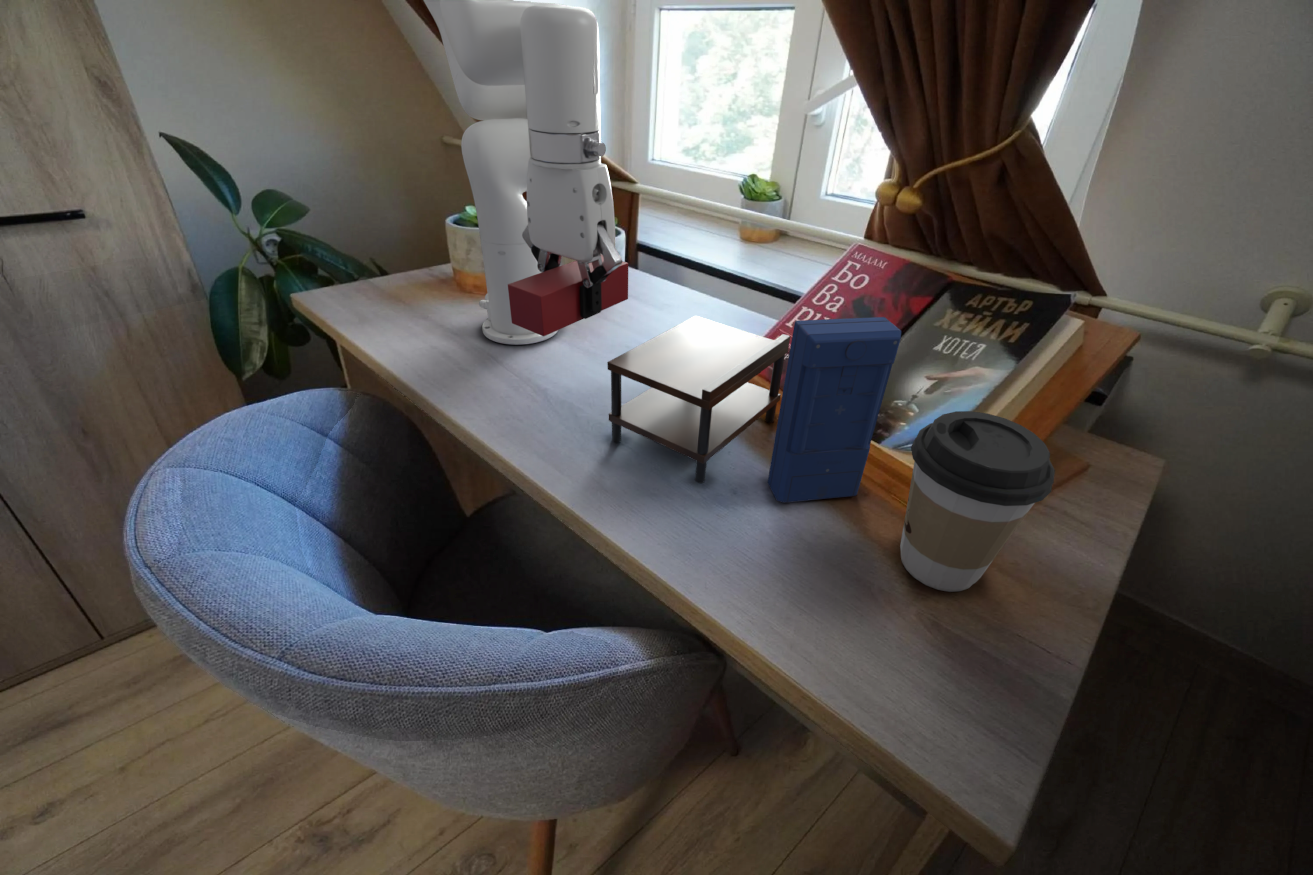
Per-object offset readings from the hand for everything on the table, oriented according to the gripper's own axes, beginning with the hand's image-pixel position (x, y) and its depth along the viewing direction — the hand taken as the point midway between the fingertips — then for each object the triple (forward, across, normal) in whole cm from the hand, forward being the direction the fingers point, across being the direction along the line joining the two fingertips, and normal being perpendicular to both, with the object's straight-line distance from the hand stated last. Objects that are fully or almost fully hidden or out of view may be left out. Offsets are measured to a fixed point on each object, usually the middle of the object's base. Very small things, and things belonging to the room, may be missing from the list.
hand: (572, 306), depth 75 cm
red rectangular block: (0, 0, 0) cm, 0 cm away
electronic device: (+14, -33, -4) cm, 36 cm away
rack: (+14, -16, -5) cm, 22 cm away
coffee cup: (+14, -48, -1) cm, 50 cm away
